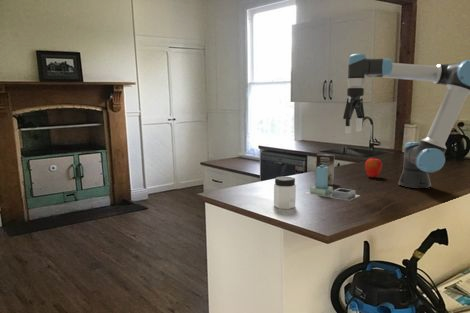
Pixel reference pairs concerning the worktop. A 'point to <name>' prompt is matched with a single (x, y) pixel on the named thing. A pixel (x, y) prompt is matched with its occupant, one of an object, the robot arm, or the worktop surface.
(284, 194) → the jar
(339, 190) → the panel
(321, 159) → the coffee box
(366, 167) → the apple
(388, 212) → the worktop surface
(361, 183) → the worktop surface
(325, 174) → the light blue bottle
